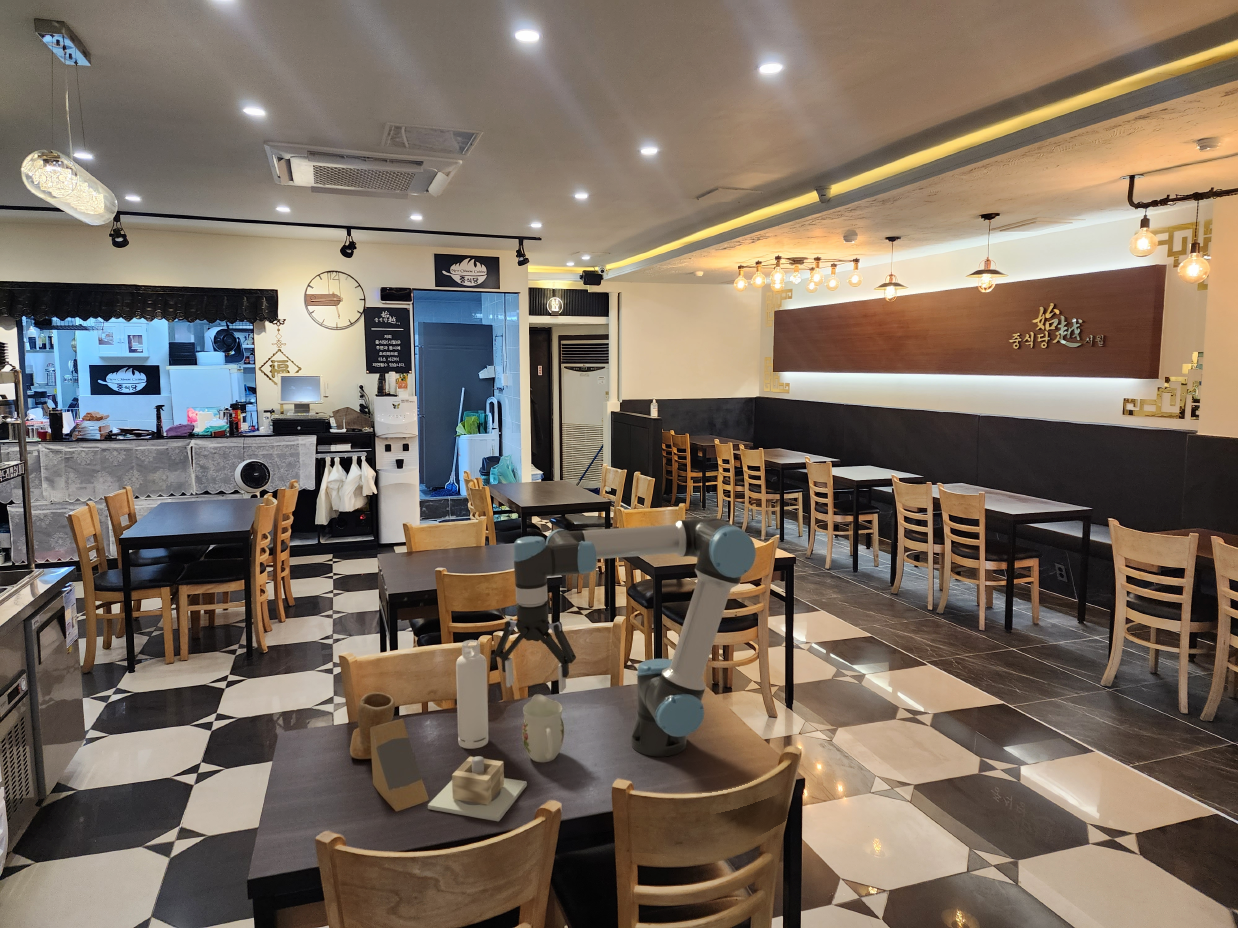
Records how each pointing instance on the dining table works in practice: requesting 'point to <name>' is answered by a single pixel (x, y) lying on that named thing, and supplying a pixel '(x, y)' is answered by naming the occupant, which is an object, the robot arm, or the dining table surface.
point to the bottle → (472, 697)
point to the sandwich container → (395, 766)
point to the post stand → (490, 811)
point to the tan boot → (370, 721)
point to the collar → (478, 782)
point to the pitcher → (542, 728)
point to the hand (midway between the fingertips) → (536, 687)
